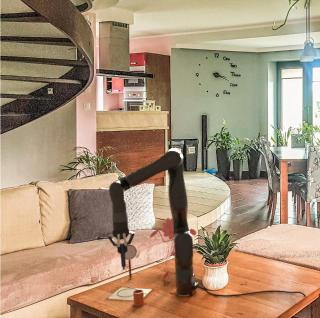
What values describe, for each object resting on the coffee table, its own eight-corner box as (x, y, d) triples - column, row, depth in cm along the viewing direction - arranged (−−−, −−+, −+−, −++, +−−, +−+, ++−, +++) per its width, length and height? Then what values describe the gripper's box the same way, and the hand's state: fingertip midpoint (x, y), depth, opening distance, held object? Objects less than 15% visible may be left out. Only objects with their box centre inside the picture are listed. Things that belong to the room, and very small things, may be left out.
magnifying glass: (138, 277, 250) (136, 243, 248) (138, 278, 249) (136, 244, 246) (122, 279, 248) (120, 245, 246) (122, 280, 247) (120, 246, 244)
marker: (127, 268, 224) (125, 242, 223) (124, 270, 222) (123, 244, 221) (123, 268, 225) (121, 242, 223) (120, 269, 223) (118, 244, 221)
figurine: (200, 277, 248) (197, 217, 244) (154, 286, 237) (151, 223, 233) (192, 268, 262) (189, 211, 258) (148, 276, 251) (145, 217, 247)
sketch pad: (152, 290, 232) (152, 289, 232) (140, 301, 218) (140, 300, 218) (121, 288, 236) (120, 287, 236) (107, 299, 222) (107, 298, 222)
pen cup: (145, 303, 217) (145, 289, 216) (141, 307, 212) (140, 293, 211) (136, 302, 218) (136, 289, 217) (132, 307, 213) (131, 293, 212)
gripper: (133, 216, 226) (136, 248, 228) (105, 219, 222) (108, 252, 224) (134, 219, 219) (137, 253, 221) (105, 223, 215) (108, 257, 217)
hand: (122, 252), depth 223 cm, fingers closed on marker, 2 cm apart
